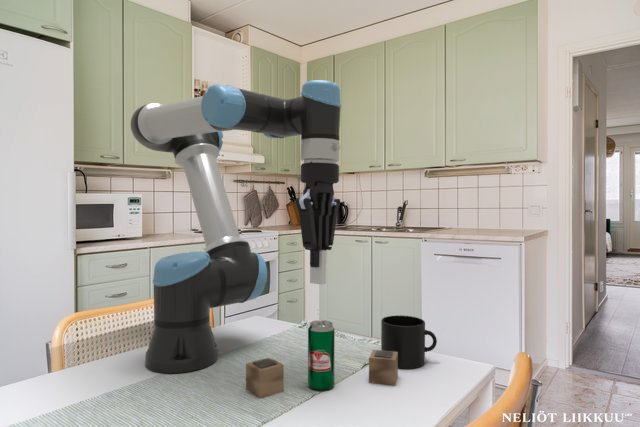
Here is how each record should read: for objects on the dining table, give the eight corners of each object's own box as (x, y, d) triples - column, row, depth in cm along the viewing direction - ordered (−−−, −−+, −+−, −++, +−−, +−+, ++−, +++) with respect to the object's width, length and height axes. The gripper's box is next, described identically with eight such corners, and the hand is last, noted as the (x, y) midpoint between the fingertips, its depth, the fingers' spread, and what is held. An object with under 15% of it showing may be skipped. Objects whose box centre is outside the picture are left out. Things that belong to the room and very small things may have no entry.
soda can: (304, 390, 81) (304, 325, 81) (311, 379, 86) (311, 318, 86) (331, 392, 80) (331, 327, 80) (336, 382, 85) (336, 320, 85)
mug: (440, 371, 91) (440, 327, 90) (381, 368, 92) (382, 325, 92) (433, 355, 100) (433, 316, 100) (380, 353, 101) (380, 314, 101)
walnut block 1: (246, 390, 81) (245, 362, 81) (268, 383, 84) (268, 356, 84) (260, 399, 77) (260, 370, 77) (283, 391, 81) (283, 363, 81)
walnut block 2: (368, 383, 84) (369, 356, 84) (372, 374, 89) (373, 348, 89) (395, 386, 83) (395, 359, 83) (397, 376, 88) (397, 350, 88)
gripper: (318, 159, 78) (316, 291, 79) (352, 164, 89) (350, 280, 90) (284, 160, 82) (282, 286, 83) (321, 165, 93) (319, 276, 94)
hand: (317, 283), depth 86 cm, fingers closed
